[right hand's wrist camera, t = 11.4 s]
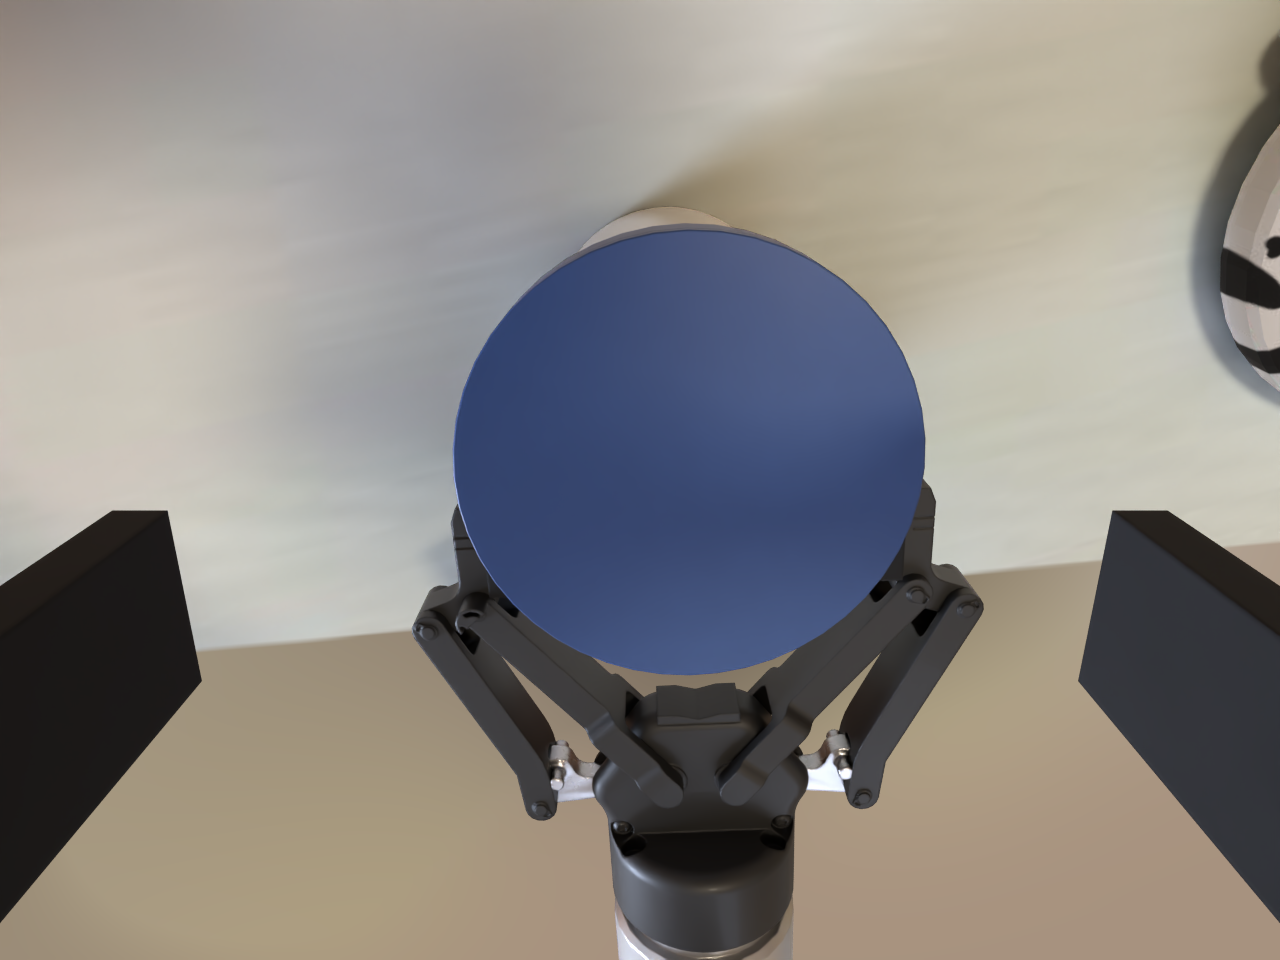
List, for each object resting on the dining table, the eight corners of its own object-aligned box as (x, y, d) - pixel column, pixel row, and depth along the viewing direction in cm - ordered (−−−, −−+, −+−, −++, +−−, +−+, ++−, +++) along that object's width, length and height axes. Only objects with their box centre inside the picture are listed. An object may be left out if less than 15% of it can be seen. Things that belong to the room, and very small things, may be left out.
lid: (825, 675, 22) (839, 714, 21) (435, 592, 22) (419, 625, 20) (970, 286, 19) (998, 298, 17) (511, 170, 18) (499, 172, 17)
